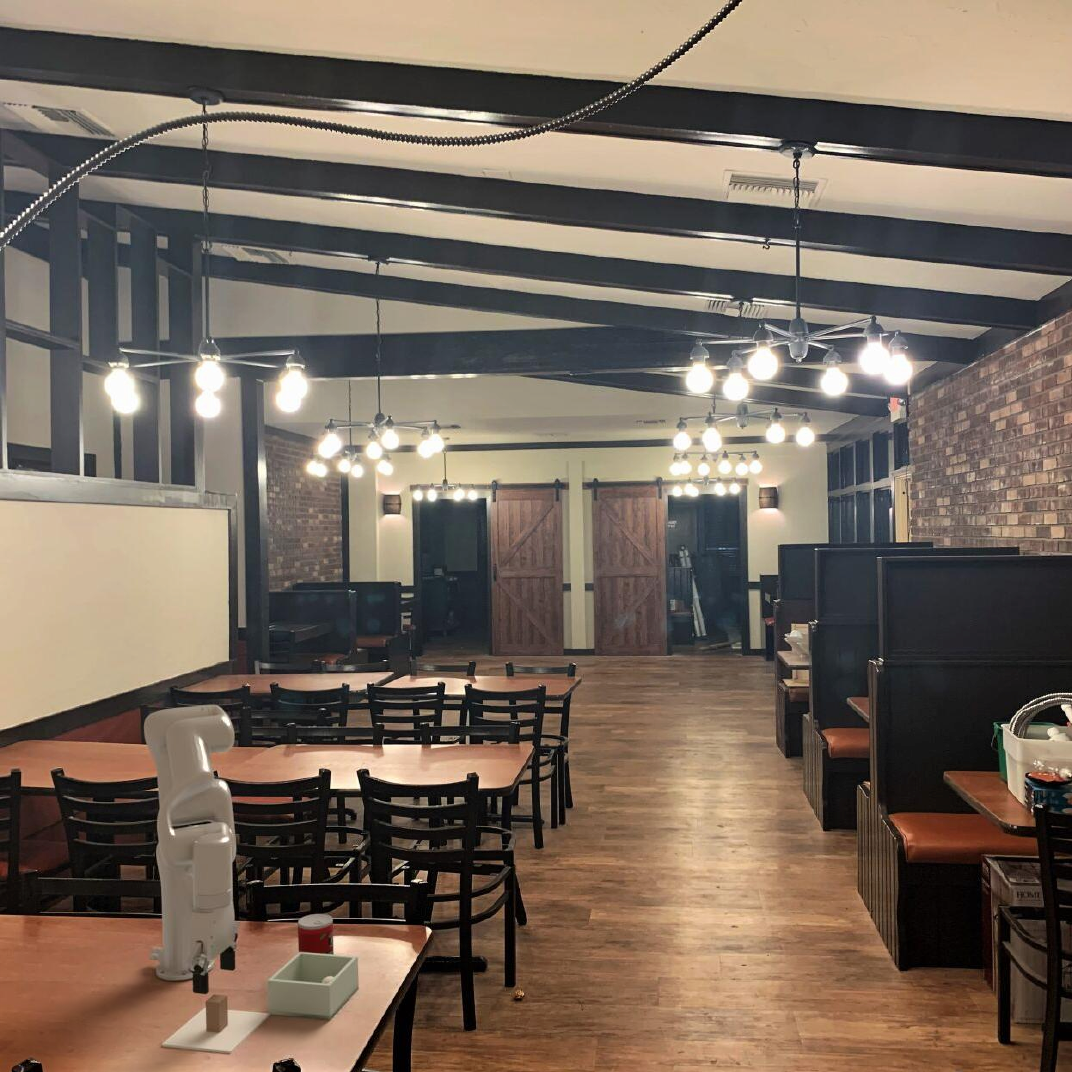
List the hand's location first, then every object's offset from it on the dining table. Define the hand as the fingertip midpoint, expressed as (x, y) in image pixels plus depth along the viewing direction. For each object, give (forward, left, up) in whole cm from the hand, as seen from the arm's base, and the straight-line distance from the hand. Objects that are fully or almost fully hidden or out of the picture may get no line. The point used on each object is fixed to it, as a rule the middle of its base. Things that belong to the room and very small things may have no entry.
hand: (214, 980), depth 194 cm
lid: (+1, -1, -10) cm, 10 cm away
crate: (+15, +14, -10) cm, 23 cm away
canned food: (+8, +29, -10) cm, 32 cm away
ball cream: (+17, +16, -7) cm, 25 cm away
